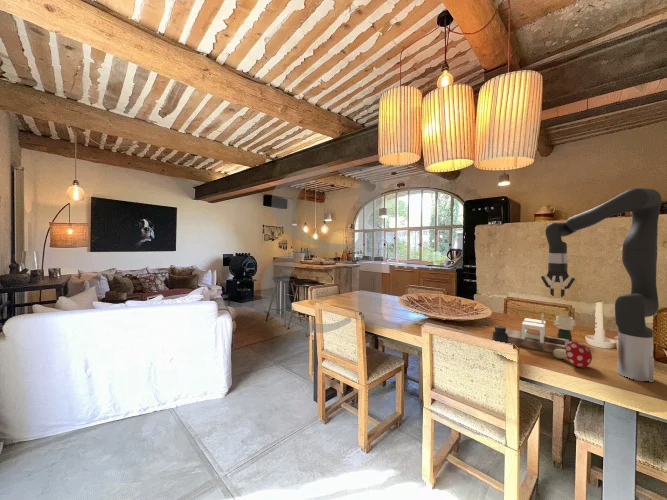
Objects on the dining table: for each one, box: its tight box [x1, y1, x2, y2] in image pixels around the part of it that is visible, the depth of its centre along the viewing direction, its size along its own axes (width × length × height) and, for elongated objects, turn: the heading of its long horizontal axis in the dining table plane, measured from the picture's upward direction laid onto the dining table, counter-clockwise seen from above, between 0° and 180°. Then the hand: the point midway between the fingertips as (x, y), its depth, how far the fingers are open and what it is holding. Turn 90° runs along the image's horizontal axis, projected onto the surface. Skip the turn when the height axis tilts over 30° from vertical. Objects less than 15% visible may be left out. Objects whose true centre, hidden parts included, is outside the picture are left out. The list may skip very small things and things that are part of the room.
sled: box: [525, 313, 545, 340], centre depth 142 cm, size 8×8×13 cm
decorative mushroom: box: [552, 340, 593, 369], centre depth 121 cm, size 11×11×15 cm
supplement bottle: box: [491, 324, 508, 343], centre depth 135 cm, size 7×7×12 cm
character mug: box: [553, 314, 576, 342], centre depth 148 cm, size 11×7×13 cm, turn 85°
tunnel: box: [521, 317, 547, 343], centre depth 142 cm, size 9×14×8 cm, turn 138°
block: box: [527, 327, 540, 336], centre depth 142 cm, size 5×5×5 cm
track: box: [506, 328, 570, 354], centre depth 142 cm, size 28×14×4 cm, turn 48°
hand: (557, 296), depth 135 cm, fingers open, 3 cm apart
